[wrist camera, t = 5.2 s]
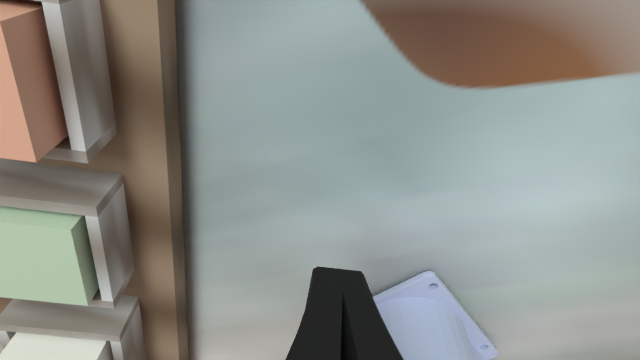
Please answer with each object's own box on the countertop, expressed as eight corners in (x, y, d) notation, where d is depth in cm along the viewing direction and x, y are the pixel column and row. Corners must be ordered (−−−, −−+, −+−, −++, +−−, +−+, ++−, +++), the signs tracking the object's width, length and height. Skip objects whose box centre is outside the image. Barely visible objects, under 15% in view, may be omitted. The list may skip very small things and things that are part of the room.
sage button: (116, 258, 21) (88, 305, 18) (26, 248, 21) (-16, 295, 18) (105, 187, 19) (70, 230, 16) (2, 175, 18) (-49, 216, 16)
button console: (189, 364, 29) (169, 431, 25) (42, 350, 28) (-1, 417, 25) (170, -118, 14) (114, -130, 10) (-140, -173, 13) (-321, -207, 10)
